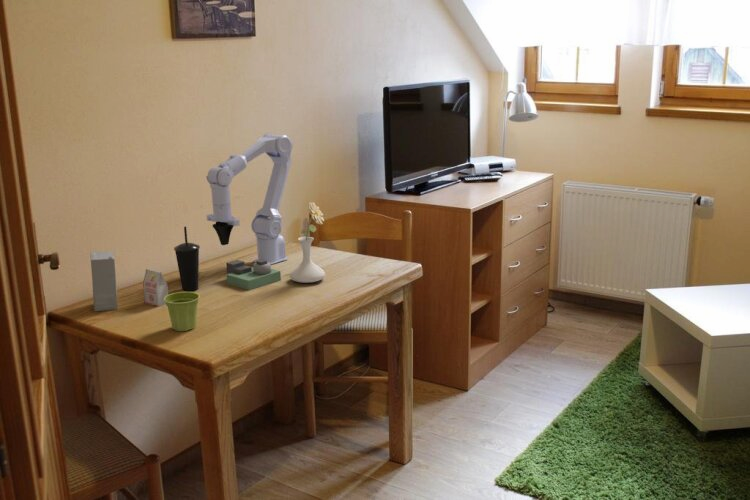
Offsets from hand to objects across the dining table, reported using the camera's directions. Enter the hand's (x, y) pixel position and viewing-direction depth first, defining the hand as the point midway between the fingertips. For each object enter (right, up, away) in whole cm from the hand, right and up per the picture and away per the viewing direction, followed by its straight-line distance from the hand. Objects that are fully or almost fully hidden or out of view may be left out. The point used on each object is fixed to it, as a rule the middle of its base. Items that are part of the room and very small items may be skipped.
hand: (224, 244), depth 255 cm
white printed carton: (-15, -18, -26) cm, 35 cm away
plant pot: (-2, -23, -47) cm, 52 cm away
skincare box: (-29, -19, -28) cm, 44 cm away
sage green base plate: (+11, -12, -8) cm, 18 cm away
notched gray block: (+6, -11, -5) cm, 14 cm away
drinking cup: (-8, -14, -14) cm, 22 cm away
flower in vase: (+28, -12, -7) cm, 31 cm away
